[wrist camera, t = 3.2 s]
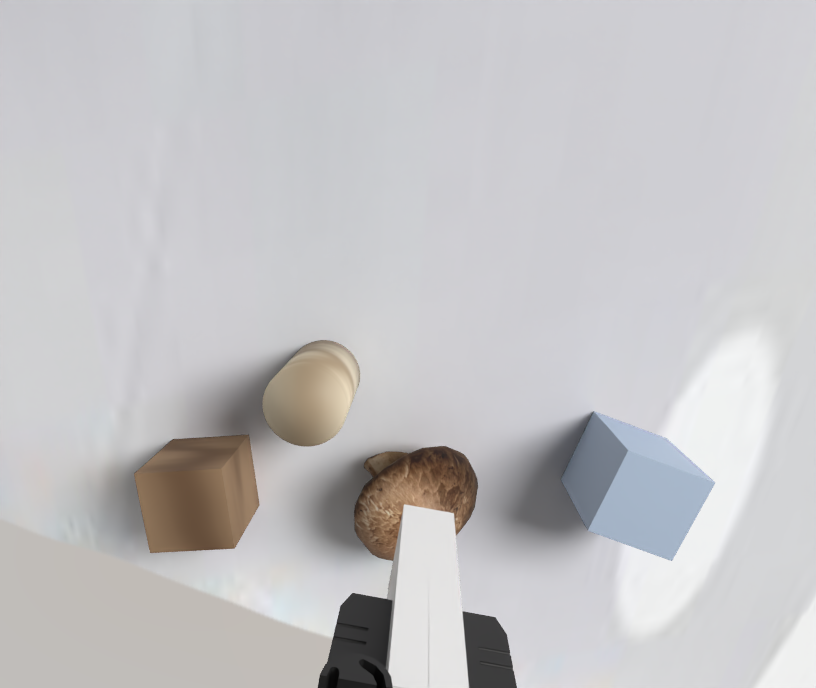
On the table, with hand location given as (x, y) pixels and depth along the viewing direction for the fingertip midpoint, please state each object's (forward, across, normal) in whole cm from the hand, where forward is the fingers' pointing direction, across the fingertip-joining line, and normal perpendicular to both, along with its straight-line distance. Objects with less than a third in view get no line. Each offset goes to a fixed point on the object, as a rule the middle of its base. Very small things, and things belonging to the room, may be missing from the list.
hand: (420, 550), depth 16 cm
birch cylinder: (+18, -6, -1) cm, 19 cm away
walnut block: (+18, -12, -8) cm, 24 cm away
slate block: (+19, +13, -3) cm, 23 cm away
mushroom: (+19, +1, -7) cm, 20 cm away
